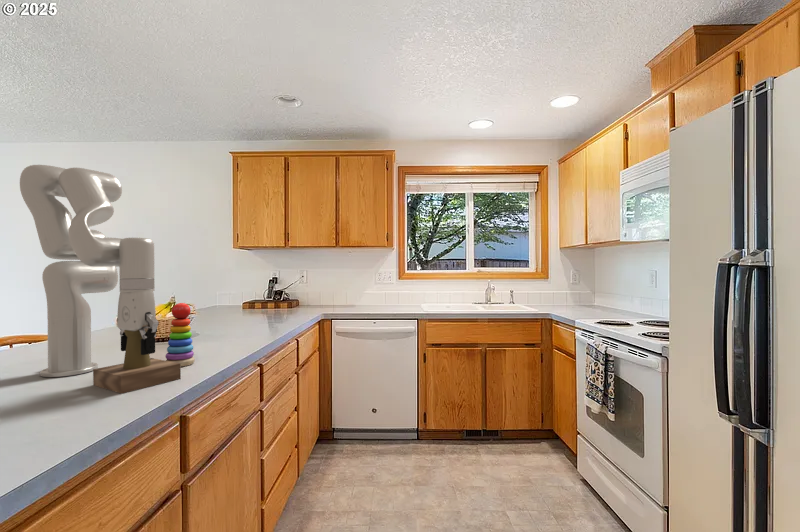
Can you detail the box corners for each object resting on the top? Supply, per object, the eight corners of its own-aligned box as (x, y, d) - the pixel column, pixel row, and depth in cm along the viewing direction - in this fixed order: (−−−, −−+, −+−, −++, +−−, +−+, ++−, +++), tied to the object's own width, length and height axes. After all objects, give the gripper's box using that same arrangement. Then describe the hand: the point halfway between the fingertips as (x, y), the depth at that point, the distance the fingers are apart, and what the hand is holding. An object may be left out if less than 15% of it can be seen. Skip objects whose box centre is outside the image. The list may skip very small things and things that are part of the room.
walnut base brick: (93, 385, 99) (93, 369, 99) (151, 372, 111) (151, 357, 111) (121, 393, 92) (121, 376, 92) (180, 378, 104) (180, 363, 104)
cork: (148, 362, 106) (148, 321, 106) (153, 366, 101) (152, 323, 101) (121, 366, 102) (121, 323, 102) (124, 370, 97) (124, 326, 97)
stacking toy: (181, 368, 115) (181, 304, 115) (158, 367, 116) (157, 304, 117) (200, 362, 123) (200, 302, 123) (178, 361, 124) (177, 301, 124)
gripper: (104, 285, 103) (104, 351, 103) (139, 286, 94) (140, 358, 94) (135, 284, 109) (135, 346, 109) (171, 285, 100) (171, 352, 100)
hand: (137, 352), depth 101 cm, fingers open, 9 cm apart
